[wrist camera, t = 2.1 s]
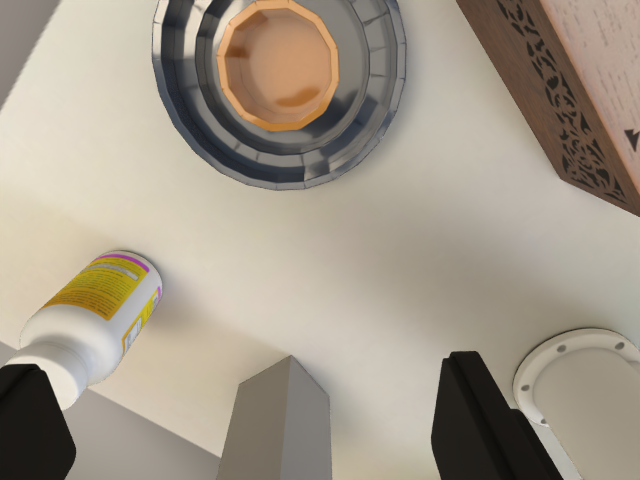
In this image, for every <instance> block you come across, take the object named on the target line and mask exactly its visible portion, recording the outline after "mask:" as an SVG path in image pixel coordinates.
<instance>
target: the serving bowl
mask: <svg viewBox="0 0 640 480" xmlns="http://www.w3.org/2000/svg"><path fill="white" fill-rule="evenodd" d="M254 1H255V2H256V1H257V0H159V2H158V5H157V9H156V12H155V16H154V19H153V32H152V63H153V68H154V72H155V77H156V82H157V87H158V92H159V95H160V97H161V99H162V102H163V104H164V106H165V108H166V110H167V112H168V114H169V117H170V119H171V121H172V123H173V125H174V127H175V128H176V129H177V130H178V132H179V133H180V134H181V136H182V137H183V138H184V139H185V141H186V142H187V143H188V145H189V146H190V147H191V148H192V150H193V151H194V152H195V153H196V154H197V155H199V156H200V157H201V158H202V159H204V160H205V161H206V162H207V163H209V164H210V165H211V166H212V167H214V168H215V169H216V170H217V171H219V172H220V173H222V174H224V175H227V176H229V177H231V178H233V179H235V180H237V181H239V182H241V183H244V184H246V185H250V186H255V187H260V188H265V189H270V190H275V191H276V190H277V191H280V190H298V189H305V188H306V189H307V188H310V187H314V186H317V185H320V184H323V183H326V182H329V181H332V180H334V179H336V178H338V177H339V176H341V175H342V174H344V173H345V172H347V171H349V170H350V169H352V168H353V167H355V166H356V165H358V164H359V163H360V162H361V161H362V160H363V159H364V158H365V157H366V156H367V155H368V154H369V153H370V152H371V151H372V150H373V148H374V147H375V146H376V145H377V144H378V143H379V142H380V140H381V139H382V137H383V136H384V134H385V132H386V130H387V128H388V127H389V125H390V123H391V121H392V119H393V118H394V116H395V114H396V112H397V108H398V105H399V101H400V97H401V94H402V90H403V86H404V83H405V78H406V38H405V33H404V28H403V24H402V19H401V15H400V10H399V6H398V3H397V1H396V0H293V1H295V2H297V3H298V4H300V5H302V6H304V7H305V8H307V9H309V10H311V11H312V12H314V13H316V14H318V15H319V17H321V18H322V20H323V22H324V24H325V25H326V27H327V29H328V31H329V32H330V34H331V36H332V38H333V39H334V41H335V43H336V45H337V48H338V58H339V82H338V83H339V84H338V87H337V89H336V91H335V93H334V95H333V97H332V99H331V101H330V103H329V105H328V107H327V109H326V111H324V113H323V114H322V115H320V116H319V117H317V118H316V119H315V120H313V121H312V122H310V123H309V124H307V125H306V126H304V127H303V128H301V129H299V130H289V131H272V132H270V131H267V130H265V129H263V128H261V127H259V126H257V125H255V124H253V123H251V122H249V121H247V120H245V119H243V118H242V116H241V117H240V116H239V114H238V113H237V112H236V110H235V109H234V107H233V106H232V105H231V103H230V102H229V100H228V99H227V98H226V96H225V95H224V93H223V92H222V90H223V89H221V85H220V79H219V72H218V65H217V59H216V56H218V55H217V51H218V48H219V45H220V43H221V40H222V37H223V34H224V32H225V29H226V26H227V24H228V23H229V21H230V20H231V19H232V18H234V17H235V16H236V15H237V14H239V13H240V12H241V11H242V10H244V9H245V8H246V7H247V6H249V5H250V4H251V3H252V2H254Z"/></svg>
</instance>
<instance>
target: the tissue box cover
mask: <svg viewBox="0 0 640 480" xmlns="http://www.w3.org/2000/svg"><path fill="white" fill-rule="evenodd" d="M456 2H457V3H458V5H459V7H460V8H461V10H462V12H463V14H464V15H465V17H466V19H467V20H468V22H469V24H470V25H471V27H472V29H473V31H474V32H475V34H476V36H477V37H478V39H479V41H480V42H481V44H482V46H483V48H484V49H485V51H486V53H487V54H488V56H489V58H490V60H491V61H492V63H493V65H494V66H495V68H496V70H497V71H498V73H499V75H500V77H501V78H502V80H503V82H504V83H505V85H506V87H507V88H508V90H509V92H510V94H511V95H512V97H513V99H514V100H515V102H516V104H517V106H518V107H519V109H520V111H521V112H522V114H523V116H524V117H525V119H526V121H527V123H528V124H529V126H530V128H531V129H532V131H533V133H534V134H535V136H536V138H537V140H538V141H539V143H540V145H541V146H542V148H543V150H544V152H545V153H546V155H547V157H548V158H549V160H550V162H551V163H552V165H553V167H554V169H555V170H556V172H557V174H558V175H559V177H560V179H562V180H564V181H566V182H568V183H570V184H572V185H574V186H576V187H578V188H580V189H582V190H584V191H586V192H589V193H591V194H593V195H595V196H597V197H599V198H601V199H603V200H605V201H607V202H609V203H611V204H613V205H615V206H618V207H620V208H622V209H624V210H626V211H628V212H630V213H632V214H634V215H636V216H638V217H640V0H456Z"/></svg>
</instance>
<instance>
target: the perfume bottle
mask: <svg viewBox="0 0 640 480" xmlns="http://www.w3.org/2000/svg"><path fill="white" fill-rule="evenodd" d="M216 480H332V458H331V430H330V401H329V396H328V395H327V393H326V392H325V391H324V390H323V389H322V388H321V387H320V386H319V385H318V384H317V383H316V381H315V380H314V379H313V378H312V377H311V376H310V375H309V374H308V373H307V372H306V371H305V370H304V368H303V367H302V366H301V365H300V364H299V363H298V362H297V361H296V360H295V359H294V358H293V356H292V355H290V356H289V357H287V358H285V359H283V360H282V361H280V362H278V363H276V364H275V365H273V366H271V367H269V368H268V369H266V370H264V371H262V372H261V373H259V374H257V375H256V376H254V377H252V378H250V379H249V380H247V381H245V382H243V383H242V384H240V385H239V387H238V391H237V396H236V400H235V404H234V408H233V412H232V416H231V420H230V424H229V429H228V433H227V437H226V441H225V445H224V449H223V453H222V457H221V461H220V466H219V470H218V474H217V478H216Z"/></svg>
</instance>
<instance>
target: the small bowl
mask: <svg viewBox="0 0 640 480" xmlns="http://www.w3.org/2000/svg"><path fill="white" fill-rule="evenodd" d="M217 55H218V56H216V59H217V65H218V72H219V79H220V85H221V89H223V90H222V92H223V93H224V95H225V96H226V98H227V99H228V100H229V102H230V103H231V105H232V106H233V107H234V109H235V110H236V112H237V113H238V114H239V116H240V117H241V116H242V118H243V119H245V120H247V121H249V122H251V123H253V124H255V125H257V126H259V127H261V128H263V129H265V130H267V131H270V132H272V131H289V130H299V129H301V128H303V127H304V126H306V125H307V124H309V123H310V122H312V121H313V120H315V119H316V118H317V117H319V116H320V115H322V114H323V113H324V111H326V109H327V107H328V105H329V103H330V101H331V99H332V97H333V95H334V93H335V91H336V89H337V87H338V84H339V83H338V82H339V58H338V48H337V45H336V43H335V41H334V39H333V38H332V36H331V34H330V32H329V31H328V29H327V27H326V25H325V24H324V22H323V20H322V18H321V17H319V15H318V14H316V13H314V12H312V11H311V10H309V9H307V8H305V7H304V6H302V5H300V4H298V3H297V2H295V1H293V0H257V1H256V2H255V1H254V2H252V3H251V4H250V5H249V6H247V7H246V8H245V9H244V10H242V11H241V12H240V13H239V14H237V15H236V16H235V17H234V18H232V19H231V20H230V21H229V23H228V24H227V26H226V29H225V32H224V34H223V37H222V40H221V43H220V45H219V48H218V51H217Z"/></svg>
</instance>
